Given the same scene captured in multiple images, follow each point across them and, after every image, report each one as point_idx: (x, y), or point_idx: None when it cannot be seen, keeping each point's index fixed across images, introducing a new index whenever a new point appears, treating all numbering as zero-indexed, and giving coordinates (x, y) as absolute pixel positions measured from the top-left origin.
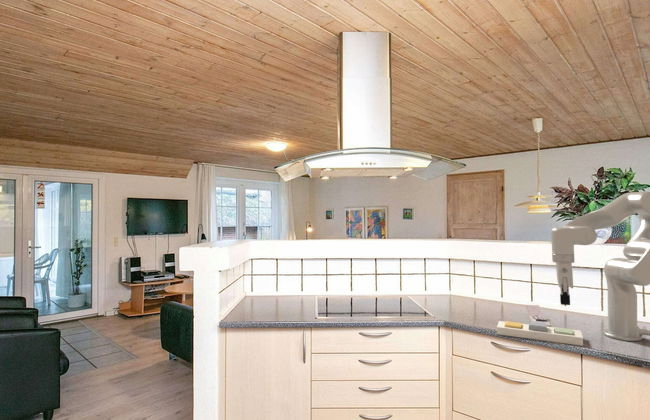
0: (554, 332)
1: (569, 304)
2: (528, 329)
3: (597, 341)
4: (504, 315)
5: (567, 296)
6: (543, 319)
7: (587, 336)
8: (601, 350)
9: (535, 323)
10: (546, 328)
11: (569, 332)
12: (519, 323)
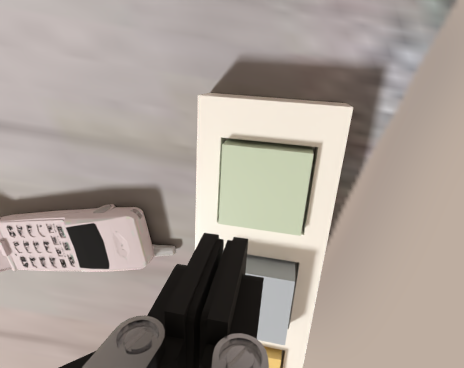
0: None
1: (247, 244)
2: None
3: (235, 13)
4: (20, 329)
5: (255, 337)
6: (50, 229)
7: (163, 52)
8: (405, 18)
9: None
10: None
11: (304, 170)
12: None
